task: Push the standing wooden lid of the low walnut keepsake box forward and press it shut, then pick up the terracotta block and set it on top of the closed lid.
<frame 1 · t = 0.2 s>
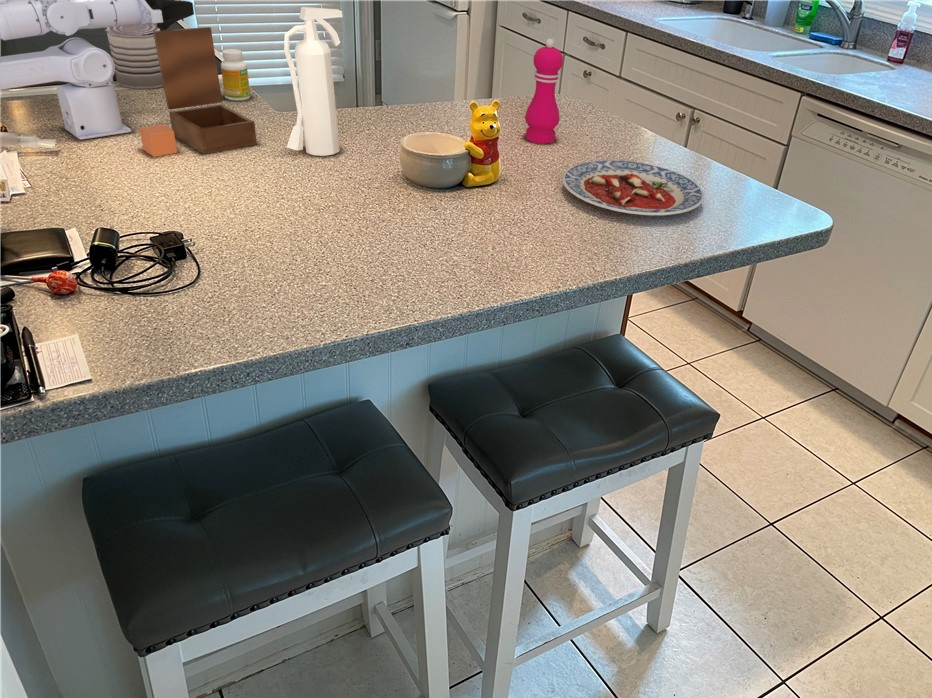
hand: (183, 3, 146), 21 cm above the countertop, tool horizontal, fingers open, 7 cm apart
block: (160, 151, 141), on the countertop
pepper mill: (540, 139, 165), on the countertop
supplement bottle: (237, 98, 171), on the countertop
ceramic plate: (630, 197, 141), on the countertop
can: (144, 83, 175), on the countertop
box: (214, 139, 148), on the countertop
fire extinguisher: (317, 152, 147), on the countertop
lid: (189, 68, 145), point 12 cm above the countertop, hinge at 93.0°
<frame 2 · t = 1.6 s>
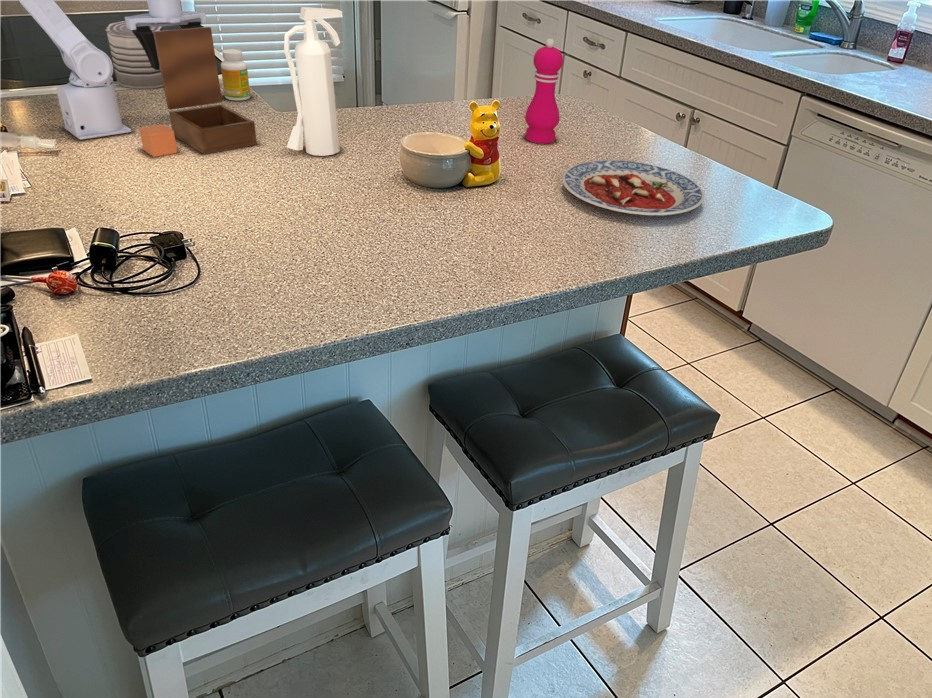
hand: (174, 66, 149), 10 cm above the countertop, tool pointing down, fingers open, 7 cm apart
nothing on the countertop moved.
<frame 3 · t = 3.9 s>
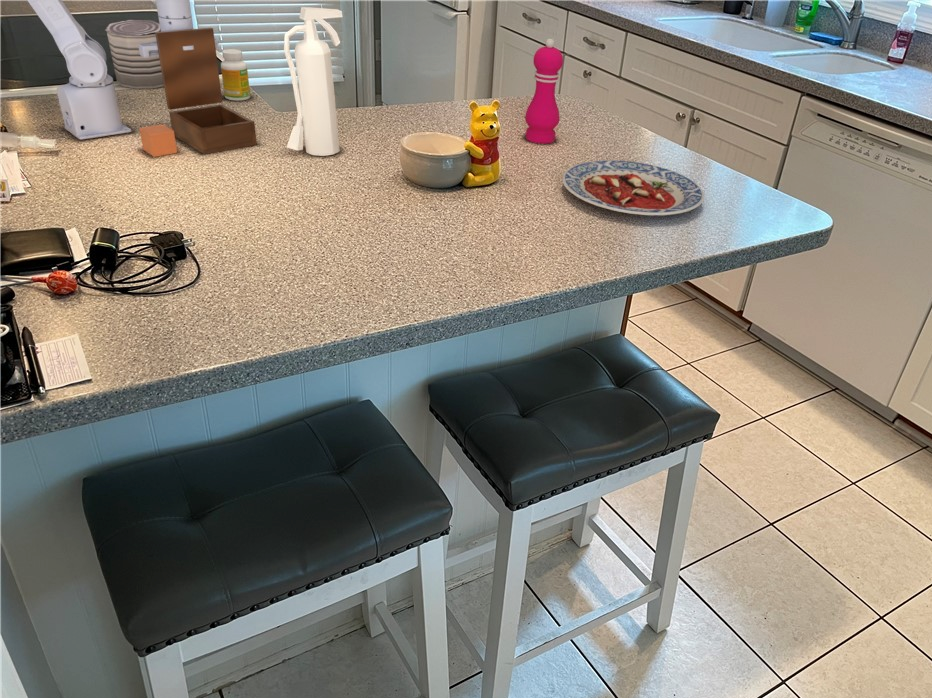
hand: (187, 92, 149), 7 cm above the countertop, tool pointing down, fingers closed, pressing on lid
lid: (190, 68, 145), point 12 cm above the countertop, hinge at 89.2°, touching gripper
everything else where it was.
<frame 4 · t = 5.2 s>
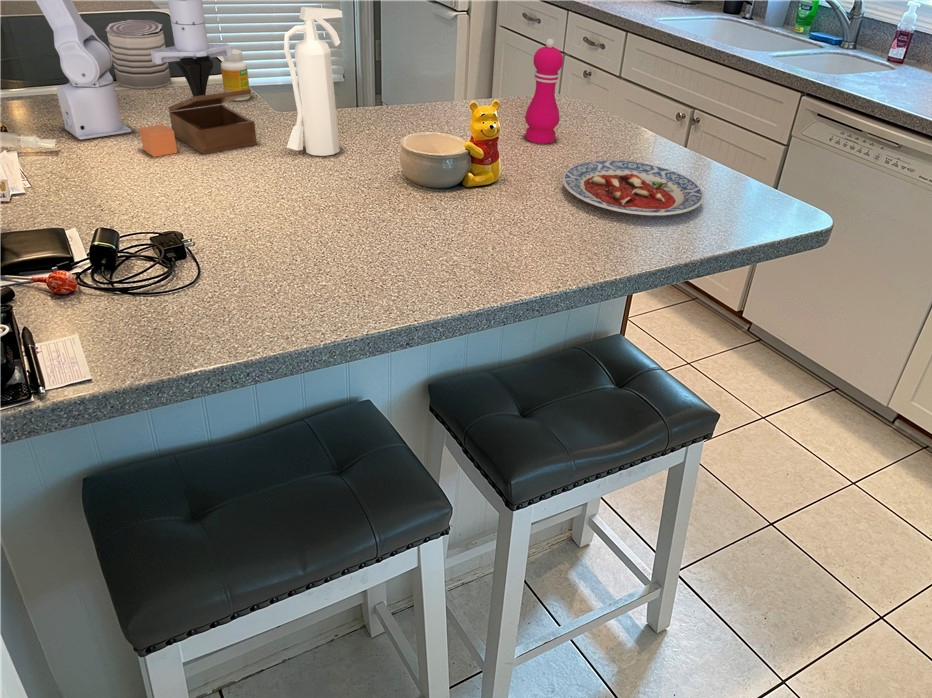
hand: (199, 99, 146), 7 cm above the countertop, tool pointing down, fingers closed
lid: (209, 100, 144), point 7 cm above the countertop, hinge at 21.9°
everything else where it was.
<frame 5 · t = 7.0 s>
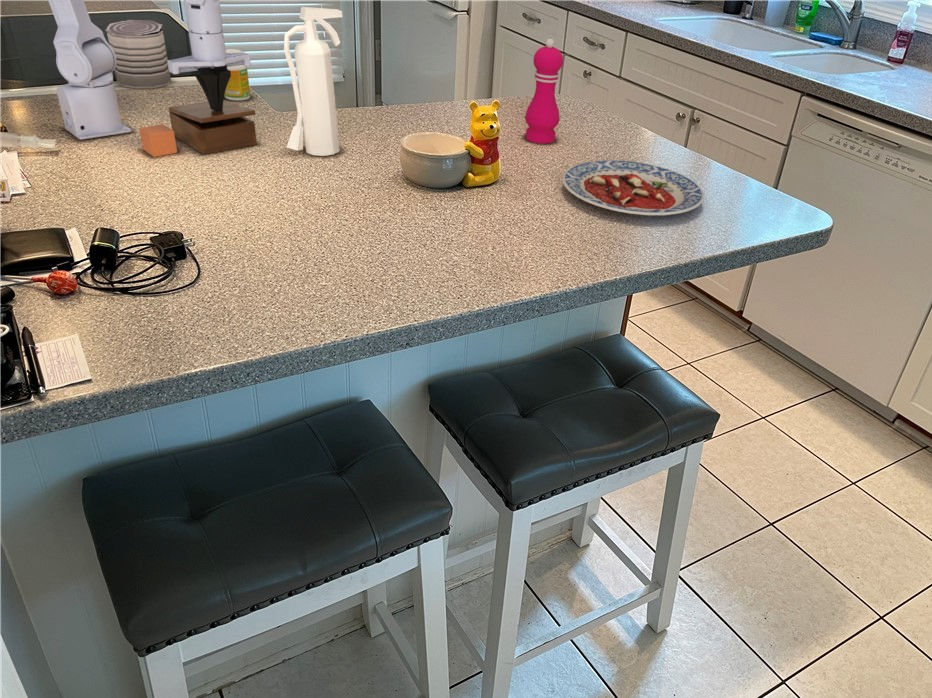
hand: (216, 109, 143), 6 cm above the countertop, tool pointing down, fingers closed
lid: (211, 110, 144), point 6 cm above the countertop, hinge at 6.2°
everything else where it was.
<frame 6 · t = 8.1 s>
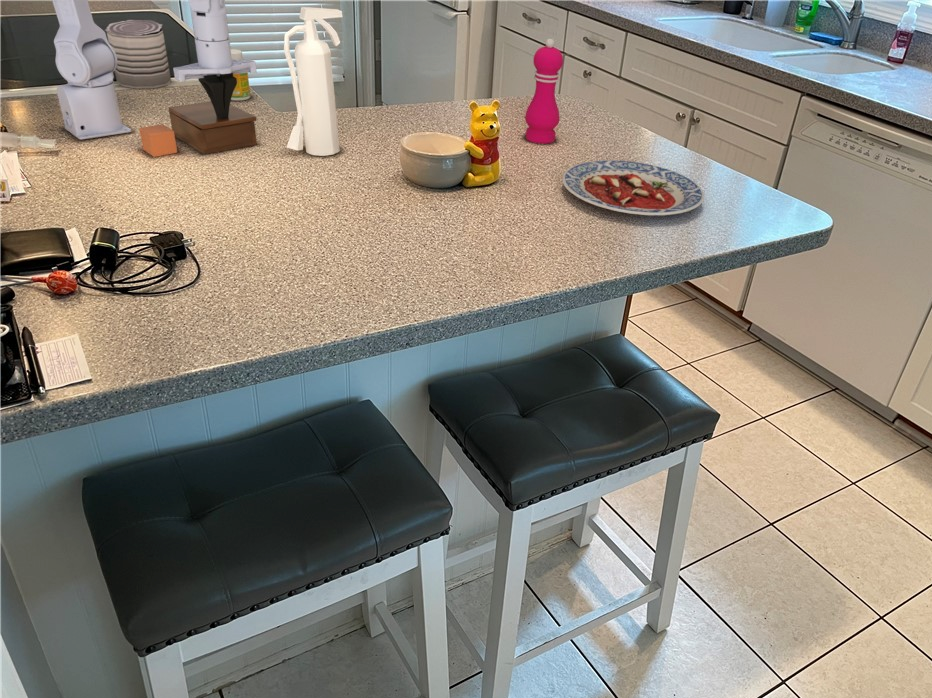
hand: (222, 117, 142), 6 cm above the countertop, tool pointing down, fingers closed, pressing on lid
lid: (212, 113, 145), point 5 cm above the countertop, hinge at 1.4°, touching gripper
everything else where it was.
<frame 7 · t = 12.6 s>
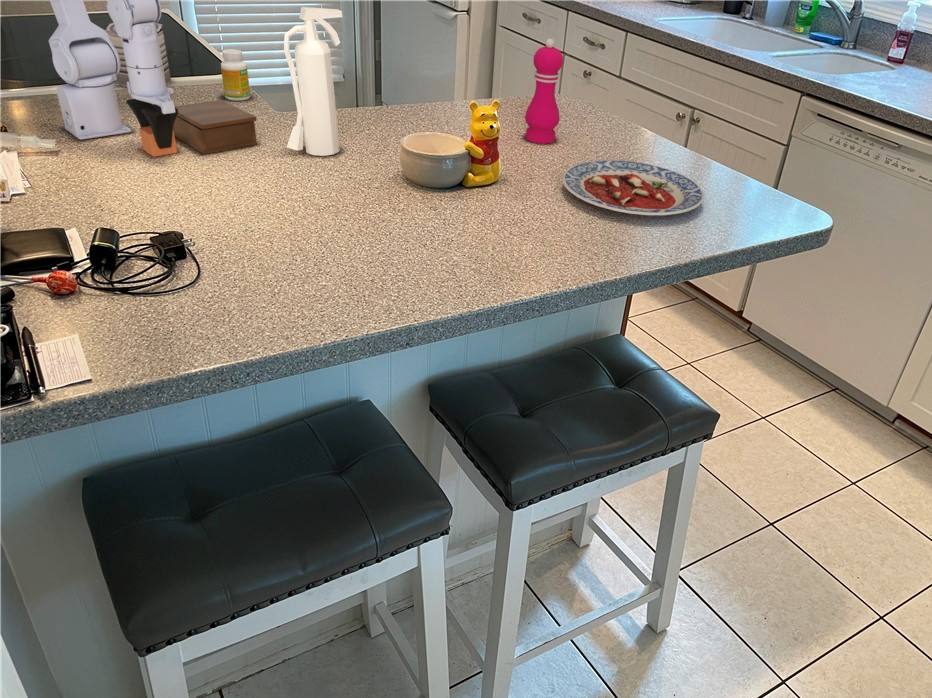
hand: (159, 143, 140), 1 cm above the countertop, tool pointing down, fingers closed on block, 4 cm apart
block: (160, 151, 141), on the countertop, touching gripper
lid: (212, 113, 145), point 5 cm above the countertop, hinge at 1.4°
everything else where it was.
when the fingers open (7 cm above the countertop, at t = 16.9 s): block stays where it is, resting on lid.
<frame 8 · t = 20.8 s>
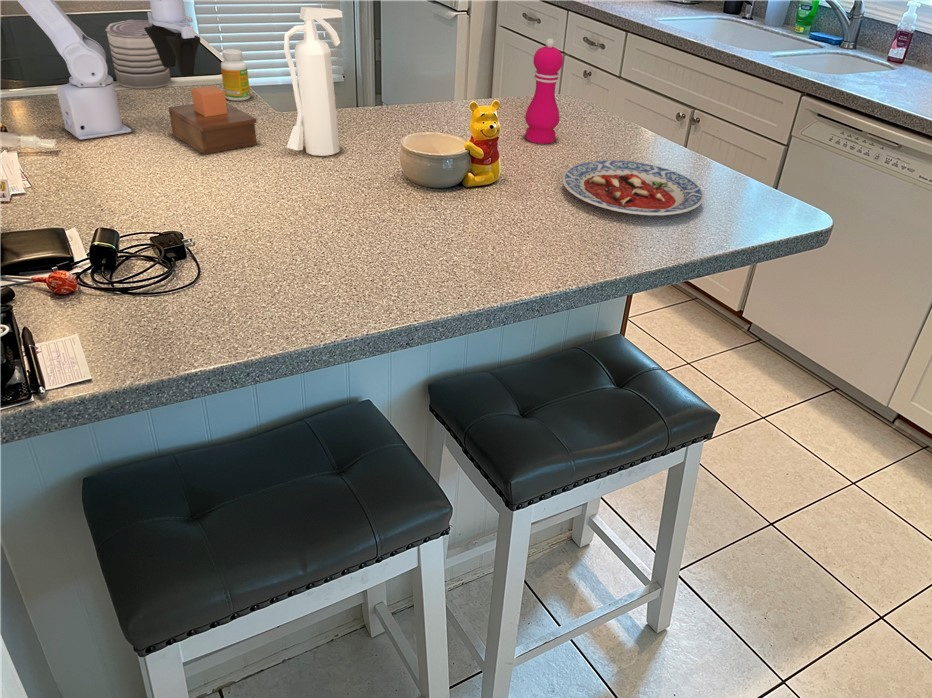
hand: (178, 71, 147), 10 cm above the countertop, tool pointing down, fingers open, 7 cm apart
block: (211, 112, 145), point 5 cm above the countertop, touching lid
lid: (212, 115, 145), point 5 cm above the countertop, hinge at -0.2°, touching block, box
everything else where it was.
at the end: lid at +0° (first picture: +93°); block inside the target area on the box (0.2 cm from its centre), point 5.2 cm above the box's base; block tilted 0° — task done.
